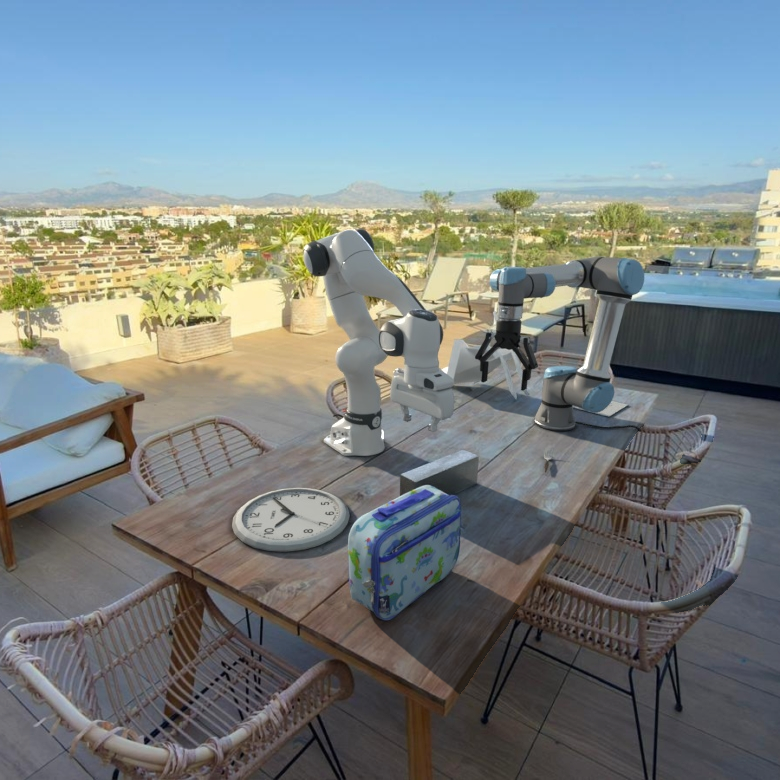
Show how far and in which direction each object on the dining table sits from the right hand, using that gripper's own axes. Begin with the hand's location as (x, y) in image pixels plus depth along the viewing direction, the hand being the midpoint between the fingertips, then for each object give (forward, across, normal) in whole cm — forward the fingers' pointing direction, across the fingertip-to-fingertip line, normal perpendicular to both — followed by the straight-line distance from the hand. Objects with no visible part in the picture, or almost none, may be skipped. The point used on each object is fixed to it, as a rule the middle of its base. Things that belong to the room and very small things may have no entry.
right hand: (503, 385), depth 166 cm
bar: (+25, -2, -33) cm, 41 cm away
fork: (+25, +15, +6) cm, 30 cm away
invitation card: (+25, +12, +77) cm, 82 cm away
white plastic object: (+25, -39, +62) cm, 77 cm away
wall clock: (+25, -26, -68) cm, 77 cm away
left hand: (+2, -4, -42) cm, 42 cm away
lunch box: (+25, +14, -73) cm, 78 cm away
